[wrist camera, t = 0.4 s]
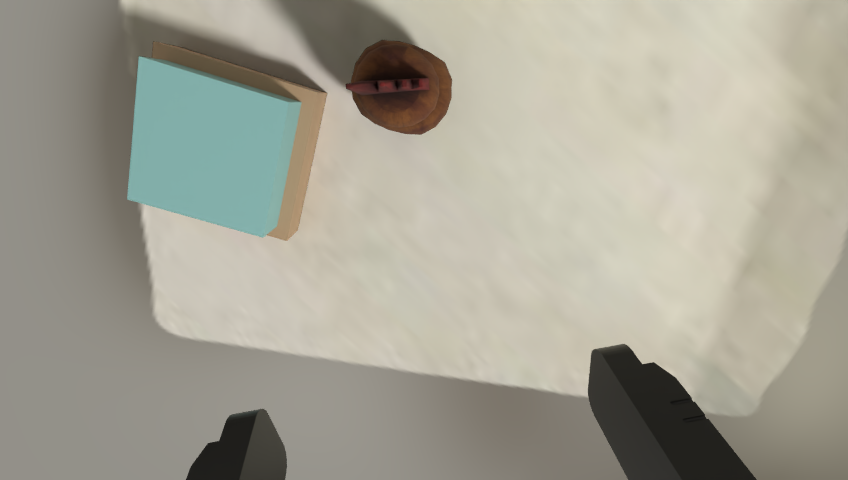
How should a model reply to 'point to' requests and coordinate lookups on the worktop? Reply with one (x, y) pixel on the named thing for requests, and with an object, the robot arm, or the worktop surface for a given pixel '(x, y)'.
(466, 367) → the worktop surface
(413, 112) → the wooden figurine
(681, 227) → the worktop surface
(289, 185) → the tower base
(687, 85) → the worktop surface
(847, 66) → the worktop surface
